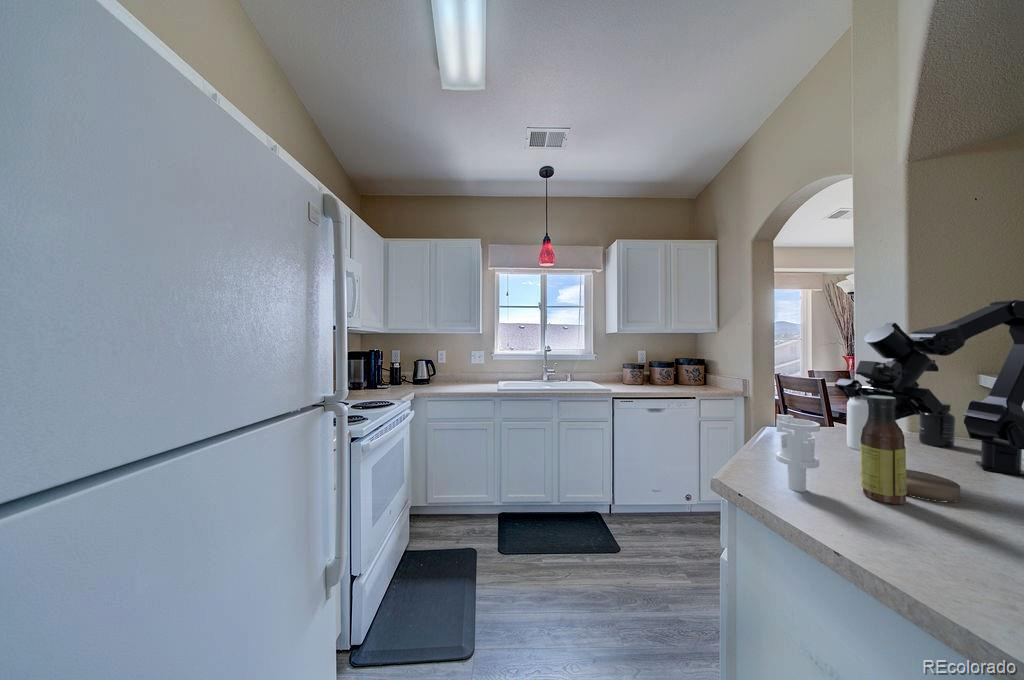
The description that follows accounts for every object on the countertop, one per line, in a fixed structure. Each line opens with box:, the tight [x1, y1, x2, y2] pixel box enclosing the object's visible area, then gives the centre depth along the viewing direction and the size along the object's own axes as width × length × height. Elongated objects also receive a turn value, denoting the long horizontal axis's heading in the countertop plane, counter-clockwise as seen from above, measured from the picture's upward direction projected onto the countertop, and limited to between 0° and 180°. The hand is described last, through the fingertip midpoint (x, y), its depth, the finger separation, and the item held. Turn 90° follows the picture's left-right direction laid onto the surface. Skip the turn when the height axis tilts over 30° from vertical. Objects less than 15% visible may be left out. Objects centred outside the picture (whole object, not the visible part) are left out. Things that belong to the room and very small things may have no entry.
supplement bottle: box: [918, 402, 956, 449], centre depth 107 cm, size 7×7×12 cm
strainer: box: [775, 413, 821, 493], centre depth 77 cm, size 7×7×15 cm
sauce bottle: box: [860, 395, 907, 505], centre depth 72 cm, size 6×6×20 cm
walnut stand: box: [906, 468, 961, 503], centre depth 76 cm, size 11×11×2 cm
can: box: [846, 396, 868, 452], centre depth 86 cm, size 6×6×12 cm
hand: (861, 421), depth 86 cm, fingers closed on can, 6 cm apart
